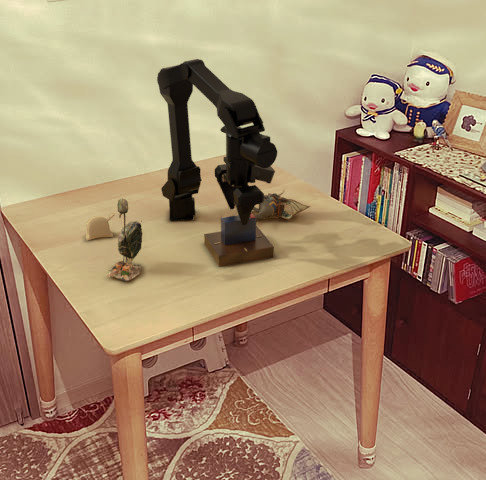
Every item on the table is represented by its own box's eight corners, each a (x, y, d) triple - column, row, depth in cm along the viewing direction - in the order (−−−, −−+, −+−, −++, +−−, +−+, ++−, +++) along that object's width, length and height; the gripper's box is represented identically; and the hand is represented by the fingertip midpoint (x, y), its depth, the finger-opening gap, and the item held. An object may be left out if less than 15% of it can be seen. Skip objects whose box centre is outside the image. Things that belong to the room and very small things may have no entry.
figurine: (252, 180, 201) (313, 185, 198) (251, 201, 204) (311, 205, 201) (241, 206, 184) (307, 211, 181) (240, 228, 187) (305, 234, 184)
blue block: (224, 245, 174) (224, 222, 171) (221, 239, 176) (220, 216, 173) (255, 240, 176) (256, 217, 172) (251, 234, 178) (251, 211, 175)
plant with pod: (156, 266, 173) (150, 188, 161) (124, 286, 165) (117, 206, 154) (130, 256, 177) (123, 180, 165) (98, 276, 169) (89, 198, 158)
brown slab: (219, 267, 171) (218, 255, 170) (204, 244, 181) (204, 233, 179) (273, 257, 175) (274, 246, 173) (256, 235, 184) (256, 224, 183)
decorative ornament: (84, 234, 187) (81, 215, 184) (116, 229, 189) (114, 211, 186) (86, 241, 184) (84, 222, 181) (118, 236, 186) (116, 217, 183)
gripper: (286, 164, 158) (284, 228, 167) (257, 137, 173) (256, 196, 182) (239, 171, 156) (238, 235, 165) (213, 142, 171) (214, 203, 179)
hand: (238, 216), depth 173 cm, fingers open, 9 cm apart
